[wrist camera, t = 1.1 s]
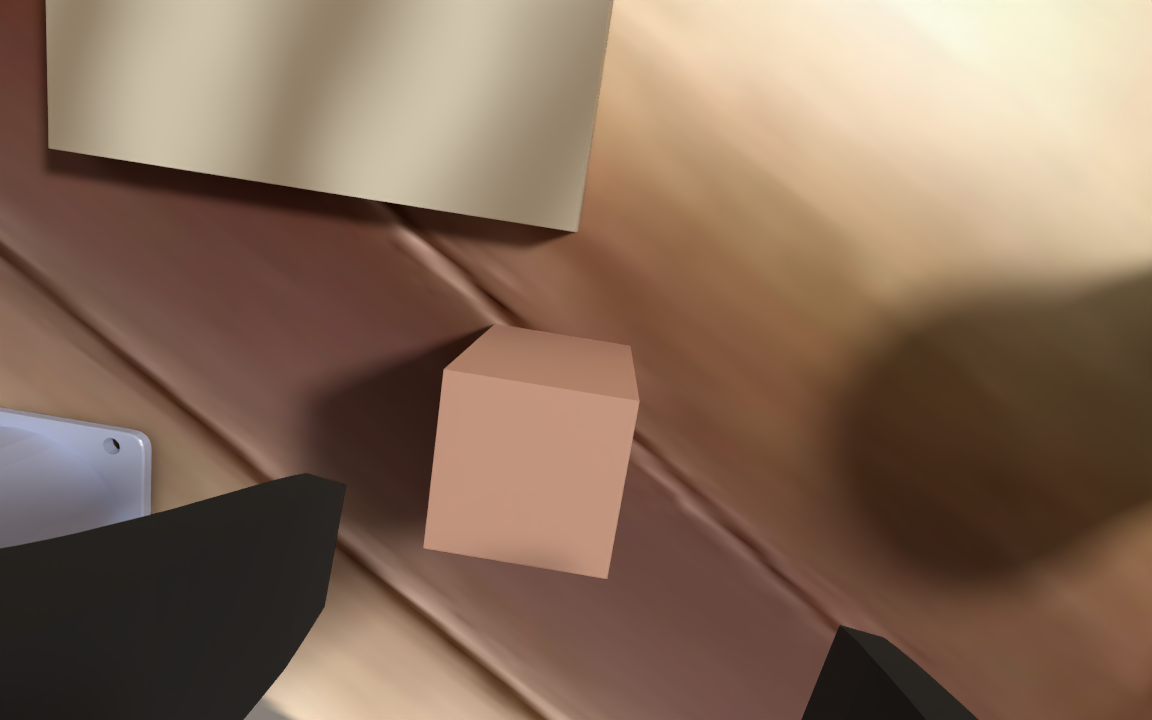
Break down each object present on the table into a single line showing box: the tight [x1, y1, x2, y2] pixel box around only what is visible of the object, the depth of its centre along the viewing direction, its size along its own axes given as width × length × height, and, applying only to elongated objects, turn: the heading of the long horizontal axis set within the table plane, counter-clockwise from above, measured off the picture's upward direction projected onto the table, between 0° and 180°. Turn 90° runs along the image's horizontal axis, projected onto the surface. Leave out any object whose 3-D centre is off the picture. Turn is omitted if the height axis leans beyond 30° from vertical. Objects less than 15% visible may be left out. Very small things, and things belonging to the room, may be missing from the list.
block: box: [423, 324, 639, 579], centre depth 16 cm, size 4×4×6 cm
